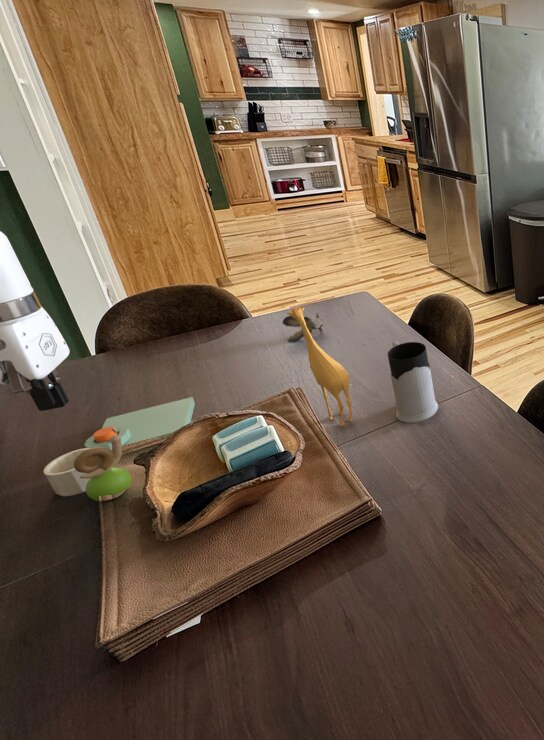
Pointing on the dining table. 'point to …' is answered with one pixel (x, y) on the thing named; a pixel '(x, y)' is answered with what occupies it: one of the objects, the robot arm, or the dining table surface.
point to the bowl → (66, 475)
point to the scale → (148, 423)
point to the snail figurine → (103, 469)
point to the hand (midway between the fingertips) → (54, 406)
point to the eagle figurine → (294, 322)
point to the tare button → (103, 434)
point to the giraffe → (325, 368)
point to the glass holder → (412, 382)
